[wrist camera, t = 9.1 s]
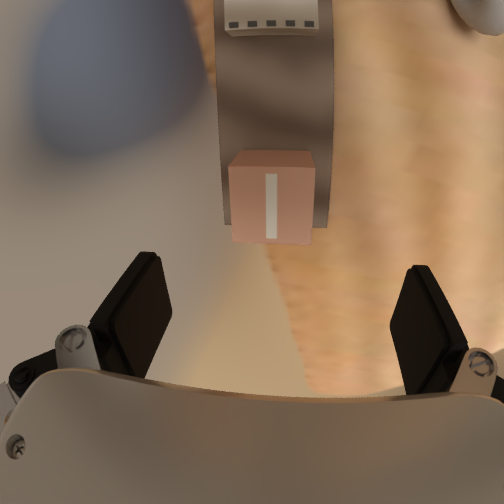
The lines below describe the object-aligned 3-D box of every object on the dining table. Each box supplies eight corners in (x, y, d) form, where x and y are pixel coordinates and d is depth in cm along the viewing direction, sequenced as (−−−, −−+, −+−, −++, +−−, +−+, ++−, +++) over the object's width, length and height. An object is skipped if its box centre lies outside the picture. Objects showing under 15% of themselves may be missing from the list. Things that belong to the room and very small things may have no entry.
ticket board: (216, -97, 12) (206, -115, 9) (318, -100, 11) (321, -120, 8) (226, 220, 31) (217, 239, 27) (326, 223, 30) (330, 243, 26)
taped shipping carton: (241, 149, 26) (227, 166, 20) (310, 150, 25) (315, 168, 20) (243, 211, 29) (232, 243, 23) (307, 213, 28) (310, 245, 23)
